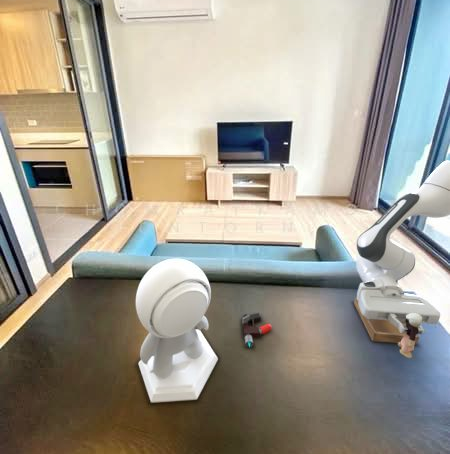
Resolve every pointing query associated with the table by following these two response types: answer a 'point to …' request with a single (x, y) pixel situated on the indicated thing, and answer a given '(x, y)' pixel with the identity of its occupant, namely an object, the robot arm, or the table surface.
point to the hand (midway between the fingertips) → (412, 332)
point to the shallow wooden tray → (381, 329)
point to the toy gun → (253, 328)
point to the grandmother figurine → (410, 334)
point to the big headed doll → (174, 331)
